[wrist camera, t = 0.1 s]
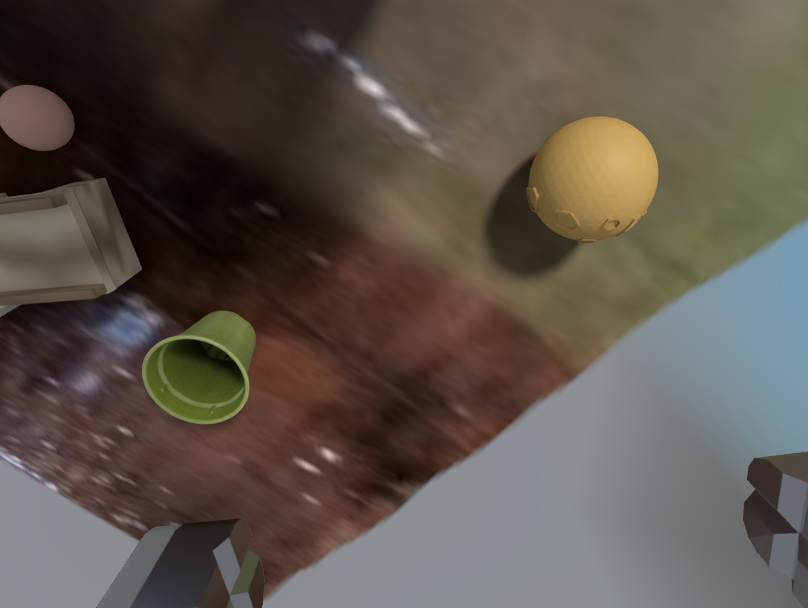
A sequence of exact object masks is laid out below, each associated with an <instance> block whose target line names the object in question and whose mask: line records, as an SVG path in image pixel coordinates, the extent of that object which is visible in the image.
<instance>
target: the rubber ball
mask: <svg viewBox="0 0 808 608" xmlns="http://www.w3.org/2000/svg"><path fill="white" fill-rule="evenodd" d="M0 125H1V127H2V129H3V130H4V131H5V133H6V134H7V135H8V136H9V137H10V138H11V139H13V140H14V141H15V142H17V143H18V144H20V145H22V146H24V147H27V148H30V149H33V150H38V151H50V150H55V149H58V148H60V147H62V146H64V145H65V144H66V143H67V142H68V141H69V140H70V139H71V137H72V135H73V132H74V118H73V115H72V113H71V110H70V109H69V107H68V106H67V104H66V103H65V102H64V101H63V100H62V99H61V98H60V97H59V96H57V95H56V94H55V93H53V92H51V91H49V90H47V89H45V88H42V87H39V86H34V85H20V86H16V87H13V88H11V89H9V90H7V91H6V92H5V93H4V94H3V95H2V96H1V98H0Z"/></svg>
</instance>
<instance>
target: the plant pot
mask: <svg viewBox="0 0 808 608" xmlns="http://www.w3.org/2000/svg"><path fill="white" fill-rule="evenodd" d="M206 342H207V343H206ZM255 345H256V335H255V331H254V329H253V327H252V326H251V324H250V323H249V322H247V321H246V320H244V319H243V318H241V317H240V316H239V315H238V314H236V313H233V312H230V311H216V312H212V313H210V314H208V315H206V316H205V317H203V318H202V319H201V320H199V321H198V322H197V323H196V324H194V325H193V326H191V327H190V328H189V329H187V330H186V331H184V332H183V333H181V334H180V335H177V336H172V337H169V338H166V339H164V340H162V341H160V342H159V343H157V344H156V345H155V346H153V347H152V348H151V349H150V351H149V352H148V353H147V355H146V357H145V359H144V361H143V366H142V377H143V381H144V385H145V387H146V389H147V391H148V393H149V395H150V396H151V398H152V399H153V400H154V401H155V402H156V403H157V404H158V405H159V406H160V407H161V408H162V409H163V410H165V411H166V412H168V413H169V414H170V415H172V416H174V417H176V418H179V419H181V420H184V421H187V422H192V423H197V424H214V423H218V422H222V421H225V420H227V419H229V418H231V417H233V416H234V415H235V414H237V413H238V412H239V411H240V410H241V409H242V407H243V406H244V405H245V403H246V401H247V398H248V395H249V388H250V385H249V377H248V370H249V367H250V363H251V359H252V356H253V352H254V349H255ZM226 354H228V355H229V356H230V357H227V356H226Z"/></svg>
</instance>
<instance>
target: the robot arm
mask: <svg viewBox="0 0 808 608" xmlns="http://www.w3.org/2000/svg"><path fill="white" fill-rule="evenodd" d="M747 480H748V481H749V482H750V484H751V485H752V486H753V487H754V488H755V491H754V492H753V493H752V494H751V495H750V496H749V497H748V499H747V500H746V501H745V502H744V513H743V521H744V524H745V528H746V531H747V534H748V537H749V539H750V541H751V543H752V544H753V546H754V548H755V550H756V552H757V553H758V554H759V555H760V557H761V558H762V559H763V560H764V561H765V563H766V564H767V565H768V566H769V567H770V568H772V569H774V570H776V571H777V572H779V573H781V574H783V575H785V576H787V577H788V578H790V579H791V581H792V594H793V595H794V597H795V598H796V599H797V600H798V601H799V602H800V603H801V604H802V606H803V607H804V608H808V452H800V453H792V454H784V455H776V456H768V457H760V458H754V459H753V461H752V462H751V464H750V465H749V468H748V476H747ZM252 538H253V535H252V533H251V530H250V527H249V524H248V522H247V521H246V520H243V519H230V520H219V521H208V522H197V523H186V524H183V525H172V526H160V527H154V528H152V529H151V530H149V531H148V532H146V533H145V534H144V536H143V537H142V539H141V540H140V542H139V543H138V545H137V547H136V548H135V550H134V551H133V553H132V554H131V556H130V557H129V559H128V560H127V562H126V563H125V565H124V566H123V568H122V570H121V571H120V572H119V574H118V575H117V577H116V579H115V580H114V582H113V583H112V584H111V586H110V588H109V589H108V591H107V592H106V594H105V595H104V597H103V598H102V600H101V601H100V603H99V604H98V606H97V607H96V608H262V605H263V597H264V586H265V582H264V572H263V567H262V563H261V560H260V557H259V556H257V555H256V554H255V553H253V552H252V551H251V550H249V546H250V543H251V540H252Z"/></svg>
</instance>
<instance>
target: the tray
mask: <svg viewBox="0 0 808 608" xmlns="http://www.w3.org/2000/svg"><path fill="white" fill-rule="evenodd" d="M19 305H21V304H19ZM19 305H6V306H0V317H1V316H3V315H4V314H6V313H8V312H9V311H11V310H13V309H14V308H16V307H18V306H19Z"/></svg>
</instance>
